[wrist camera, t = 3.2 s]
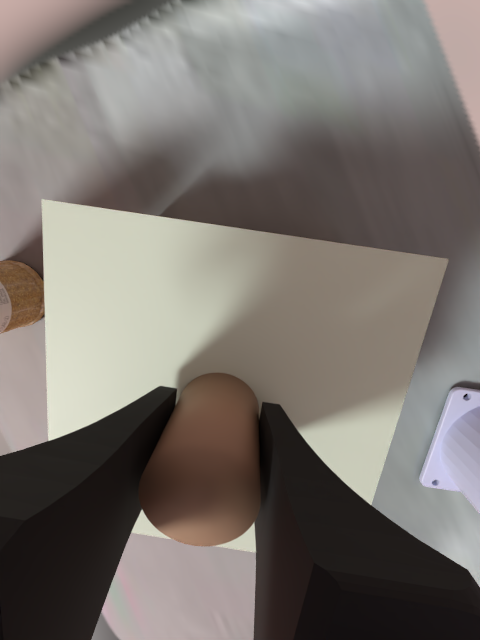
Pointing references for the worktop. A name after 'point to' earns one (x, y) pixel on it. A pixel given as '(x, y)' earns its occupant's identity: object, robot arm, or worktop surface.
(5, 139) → the worktop surface
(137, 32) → the worktop surface
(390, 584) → the robot arm
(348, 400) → the lid
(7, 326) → the sprinkles bottle
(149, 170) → the worktop surface
